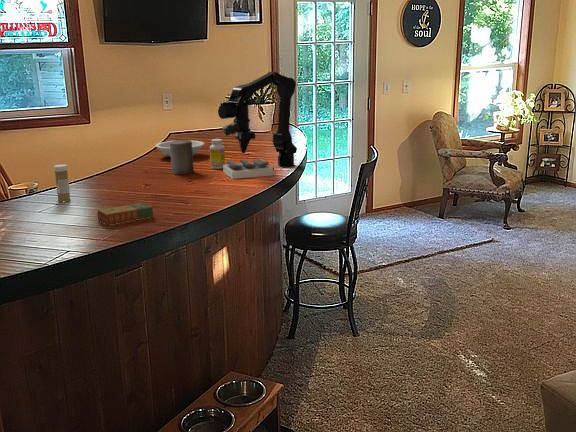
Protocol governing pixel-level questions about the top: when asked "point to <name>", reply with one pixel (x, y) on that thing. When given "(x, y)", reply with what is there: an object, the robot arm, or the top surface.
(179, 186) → the top surface
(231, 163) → the rocker
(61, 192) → the sprinkles bottle
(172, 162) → the pillar candle
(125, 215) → the carton
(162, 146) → the soup bowl
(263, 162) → the rocker
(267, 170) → the light switch panel
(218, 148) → the supplement bottle
